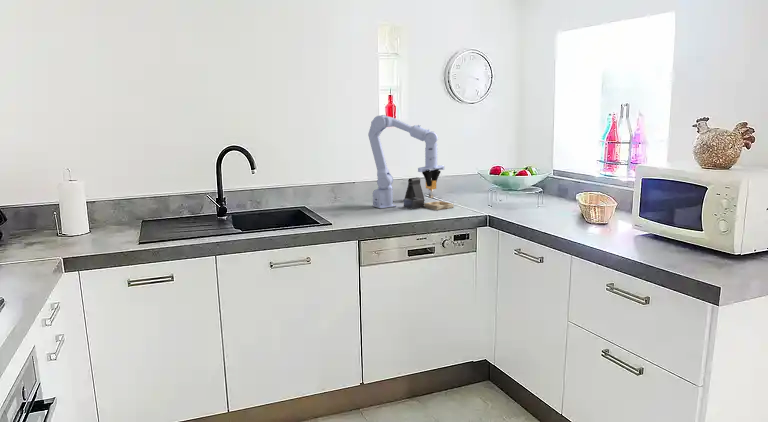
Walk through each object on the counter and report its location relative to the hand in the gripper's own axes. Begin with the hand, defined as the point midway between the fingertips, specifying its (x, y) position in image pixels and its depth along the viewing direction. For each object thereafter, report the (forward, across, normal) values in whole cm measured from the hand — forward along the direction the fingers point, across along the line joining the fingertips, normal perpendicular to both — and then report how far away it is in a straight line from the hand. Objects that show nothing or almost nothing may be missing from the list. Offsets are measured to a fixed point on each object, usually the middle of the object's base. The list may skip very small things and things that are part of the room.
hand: (431, 185), depth 275 cm
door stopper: (+11, +4, +19) cm, 22 cm away
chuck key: (+6, 0, 0) cm, 6 cm away
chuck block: (+10, -6, +6) cm, 14 cm away
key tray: (+11, +3, -2) cm, 11 cm away
